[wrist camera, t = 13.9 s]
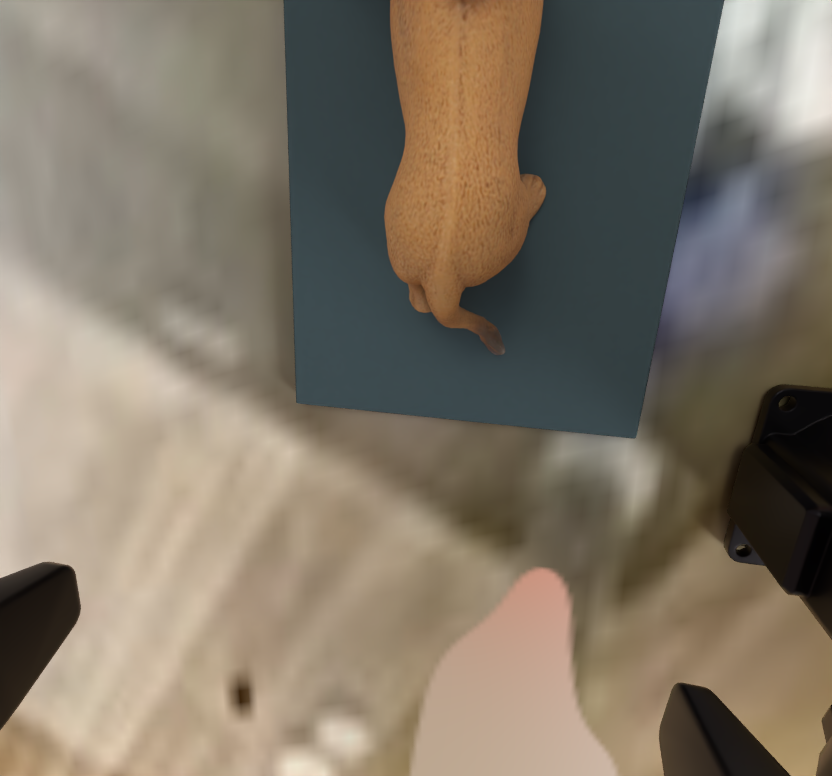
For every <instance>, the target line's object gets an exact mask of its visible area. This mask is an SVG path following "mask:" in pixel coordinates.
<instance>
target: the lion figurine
mask: <svg viewBox="0 0 832 776" xmlns="http://www.w3.org/2000/svg"><path fill="white" fill-rule="evenodd" d="M542 11H543V0H390V29H391V41H392V50H393V59H394V68H395V73H396V78H397V85H398V91H399V98H400V103H401V108H402V113H403V118H404V123H405V130H406V137H405V148H404V152H403V157H402V160H401V163H400V165H399V168H398V171H397V174H396V177H395V180H394V183H393V185H392V188H391V190H390V193H389V195H388V198H387V201H386V205H385V214H384V219H385V229H386V238H387V249H388V255H389V259H390V262H391V265H392V267H393V270H394V272H395V273H396V274H397V276H398V277H399V278H400V279H401V280H402V281H404V282H405V283H407V284H408V286H409V291H410V292H409V299H410V302H411V304H412V306H413V307H414V308H415V310H417V311H419V312H423V313H427V312H432V313H433V314H434V316H435V317H436V319H437V320H438V321H439V322H440V323H441V324H442V325H444V326H445V327H449V328H465V329H468V330H470V331H472V332H474V333H476V334H478V335H479V336H480V340H481V341H482V342H483V343H484V344H485V345H486V347H487V348H488V350H489V351H491V352H492V353H493V354H495V355H502V354H504V353H505V347H504V344H503V342H502V338H501V335H500V333H499V331H498V329H497V327H495V326H494V325H493V324H492V323H490V322H489V321H487V320H486V319H485V318H484V317H482V316H479V315H476V314H474V313H472V312H469V311H467V310H465V309H464V308H461V307H460V306H459V302H460V298H461V293H462V292H463V291H464V289H465V288H466V287H473V286H477V285H480V284H482V283H484V282H486V281H487V280H489V279H490V278H492V277H493V276H495V275H496V274H498V273H499V272H500V271H501V270H503V269H504V268H505V267H506V266H507V265H508V264H509V263H510V262H512V260H513V259H514V258H515V256H516V255H517V254H518V252H519V251H520V249H521V247H522V245H523V243H524V240H525V237H526V234H527V230H528V227H529V221H530V220H531V219H532V218H533V216H534V215H535V214H536V213H537V211H538V210H539V208H540V207H541V205H542V203H543V201H544V199H545V196H546V187H545V185H544V183H543V182H542V180H541V178H540V177H539V176H537V175H533V174H521V175H520V173H519V166H518V157H517V150H518V136H519V130H520V125H521V121H522V117H523V113H524V109H525V105H526V101H527V96H528V91H529V87H530V82H531V76H532V71H533V65H534V59H535V54H536V49H537V44H538V40H539V35H540V28H541V20H542Z"/></svg>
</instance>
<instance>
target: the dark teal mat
mask: <svg viewBox="0 0 832 776" xmlns="http://www.w3.org/2000/svg"><path fill="white" fill-rule="evenodd" d="M723 4H724V0H543V11H542V20H541V28H540V35H539V40H538V44H537V49H536V54H535V59H534V65H533V71H532V76H531V82H530V87H529V91H528V96H527V101H526V105H525V109H524V113H523V117H522V121H521V125H520V130H519V136H518V150H517V157H518V166H519V173H520V175H521V174H533V175H537V176H539V177H540V178H541V180H542V182H543V183H544V185H545V187H546V196H545V199H544V201H543V203H542V205H541V207H540V208H539V210H538V211H537V213H536V214H535V215H534V216H533V218H532V219H531V220H530V221H529V227H528V230H527V234H526V237H525V240H524V243H523V245H522V247H521V249H520V251H519V252H518V254H517V255H516V256H515V258H514V259H513V260H512V262H510V263H509V264H508V265H507V266H506V267H505V268H504V269H503V270H501V271H500V272H499V273H498V274H496V275H495V276H493V277H492V278H490V279H489V280H487V281H486V282H484V283H482V284H480V285H477V286H473V287H466V288H465V289H464V291H463V292H462V293H461V298H460V302H459V306H460V307H461V308H464V309H465V310H467V311H469V312H472V313H474V314H476V315H479V316H482V317H484V318H485V319H486V320H487V321H489V322H490V323H492V324H493V325H494V326H495V327H497V329H498V331H499V333H500V335H501V338H502V342H503V344H504V347H505V353H504V354H502V355H495V354H493V353H492V352H491V351H489V350H488V348H487V347H486V345H485V344H484V343H483V342H482V341H481V340H480V336H479V335H478V334H476V333H474V332H472V331H470V330H468V329H465V328H449V327H445V326H444V325H442V324H441V323H440V322H439V321H438V320H437V319H436V317H435V316H434V314H433V313H432V312H427V313H423V312H419V311H417V310H415V308H414V307H413V306H412V304H411V302H410V299H409V292H410V291H409V286H408V284H407V283H405V282H404V281H402V280H401V279H400V278H399V277H398V276H397V274H396V273H395V272H394V270H393V267H392V265H391V262H390V259H389V255H388V249H387V238H386V229H385V219H384V214H385V205H386V201H387V198H388V195H389V193H390V190H391V188H392V185H393V183H394V180H395V177H396V174H397V171H398V168H399V165H400V163H401V160H402V157H403V152H404V148H405V137H406V130H405V123H404V118H403V113H402V108H401V103H400V98H399V91H398V85H397V78H396V73H395V68H394V59H393V50H392V41H391V29H390V0H284V27H285V59H286V90H287V122H288V154H289V186H290V217H291V249H292V281H293V312H294V344H295V376H296V402H297V403H300V404H309V405H319V406H328V407H338V408H348V409H357V410H367V411H376V412H386V413H396V414H405V415H415V416H424V417H434V418H443V419H453V420H463V421H472V422H482V423H491V424H501V425H510V426H520V427H530V428H539V429H549V430H558V431H568V432H578V433H587V434H597V435H606V436H616V437H625V438H636V435H637V430H638V425H639V421H640V416H641V411H642V406H643V401H644V396H645V391H646V386H647V381H648V376H649V371H650V366H651V361H652V356H653V351H654V346H655V341H656V336H657V331H658V326H659V321H660V316H661V311H662V306H663V301H664V296H665V291H666V287H667V282H668V277H669V272H670V267H671V262H672V257H673V252H674V247H675V242H676V237H677V232H678V227H679V222H680V217H681V212H682V207H683V202H684V197H685V192H686V187H687V182H688V177H689V172H690V167H691V162H692V158H693V153H694V148H695V143H696V138H697V133H698V128H699V123H700V118H701V113H702V108H703V103H704V98H705V93H706V88H707V83H708V78H709V73H710V68H711V63H712V58H713V53H714V48H715V43H716V38H717V33H718V28H719V24H720V19H721V14H722V9H723Z"/></svg>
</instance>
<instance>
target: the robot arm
mask: <svg viewBox="0 0 832 776" xmlns="http://www.w3.org/2000/svg"><path fill="white" fill-rule="evenodd" d="M785 396H790V401H789V403H788V404H786V405H785V406H781V407H779V401H780V400H781V399H782V398H783V397H785ZM727 512H728V514H729V515H730V517H731V519H730V522H729V526H728V529H727V533H726V536H725V540H724V548H725V550H726V552H727V553H728V555H729V556H730V558H732V559H733V560H734V561H737V562H740V563H748V564H756V565H763V566H766V567H767V568H768V570H769V571H770V572H771V574H772V575H773V577H774V578H775V579H776V581H777V582H778V584H779V585H780V586H781V587H782V589H783V590H784V591H785V592H786V593H787V594H788V595H795V596H799V597H800V598H801V599H802V601H803V602H804V603H805V605H806V606H807V607H808V609H809V610H810V611H811V613H812V614H813V615H814V617H815V618H816V619H817V621H818V622H819V623H820V625H821V626H822V627H823V629H824V630H825V631H826V633H827V634H828V635H829V637H830V638H831V639H832V389H831V388H819V387H808V386H797V385H778V386H776V387H773V388H772V389H771V390H769V391H768V392H767V394H766V396H765V398H764V402H763V405H762V409H761V412H760V416H759V419H758V423H757V426H756V430H755V434H754V437H753V441H752V443H751V444H750V445H749V446H747V447H746V448H745V449H744V452H743V455H742V459H741V462H740V466H739V470H738V473H737V477H736V480H735V484H734V488H733V491H732V495H731V498H730V502H729V506H728V509H727ZM742 544H746V547H745V548H743V549H741V550H736V548H737V547H738V546H739V545H742ZM80 610H81V604H80V598H79V592H78V586H77V580H76V574H75V571H74V570H73V568H72V567H70V566H69V565H64V564H59V563H54V562H42V563H39V564H37V565H34V566H31V567H29V568H26V569H24V570H21V571H18V572H16V573H13V574H10V575H8V576H5V577H3V578H0V730H1V729H2V727H3V726H4V725H5V724H6V722H7V721H8V720H9V718H10V717H11V716H12V714H13V713H14V711H15V710H16V709H17V707H18V706H19V705H20V703H21V702H22V700H23V699H24V697H25V696H26V695H27V693H28V692H29V690H30V689H31V687H32V686H33V685H34V683H35V682H36V680H37V679H38V677H39V676H40V674H41V673H42V672H43V670H44V669H45V667H46V666H47V664H48V663H49V662H50V660H51V659H52V657H53V656H54V654H55V653H56V652H57V650H58V649H59V647H60V646H61V644H62V643H63V641H64V640H65V639H66V637H67V636H68V634H69V633H70V631H71V630H72V629H73V627H74V626H75V624H76V622H77V620H78V618H79V615H80ZM822 725H823V729H824V734H825V739H826V743H827V744H826V745H825V746H824V748H823V749H822V751H821V752H820V755H819V761H818V767H817V773H816V776H832V705H831V706H830V708H829V709H828V711H827V712H826V714H825V715H824V717H823V718H822ZM659 741H660V750H661V756H662V763H663V770H664V776H790V775H789V773H788V772H787V771H786V770H785V769H784V768H783V767H782V766H781V765H780V764H779V763H778V762H777V761H776V759H775V758H774V757H773V756H772V755H771V754H770V753H769V752H768V751H767V750H766V749H765V748H764V747H763V745H762V744H761V743H760V742H759V741H758V740H757V739H756V738H755V737H754V736H753V735H752V734H751V733H750V731H749V730H748V729H747V728H746V727H745V726H744V725H743V724H742V723H741V722H740V721H739V720H738V719H737V717H736V716H735V715H734V714H733V713H732V712H731V711H730V710H729V709H728V708H727V707H726V706H725V705H724V703H723V702H722V701H721V700H720V699H719V698H718V697H717V696H716V695H715V694H714V693H713V692H712V691H711V690H709V689H708V688H705V687H701V686H696V685H691V684H686V683H677V684H675V685H674V687H673V689H672V691H671V694H670V697H669V700H668V703H667V706H666V709H665V712H664V715H663V718H662V721H661V725H660V731H659Z"/></svg>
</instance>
